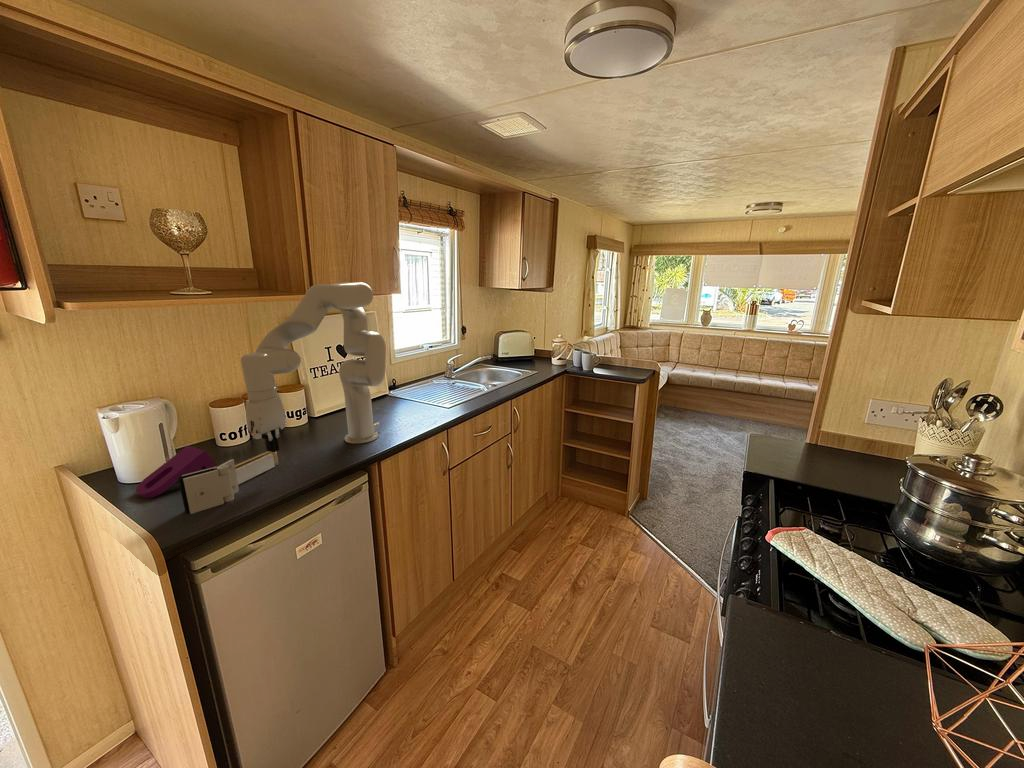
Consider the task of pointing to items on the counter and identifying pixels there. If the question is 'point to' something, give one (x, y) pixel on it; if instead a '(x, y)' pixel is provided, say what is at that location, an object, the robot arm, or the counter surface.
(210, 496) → the hinge
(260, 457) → the fixed leaf
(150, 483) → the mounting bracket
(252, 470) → the open leaf
